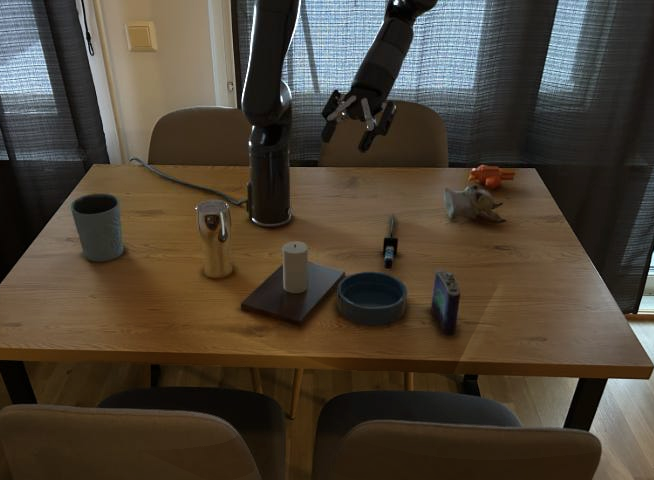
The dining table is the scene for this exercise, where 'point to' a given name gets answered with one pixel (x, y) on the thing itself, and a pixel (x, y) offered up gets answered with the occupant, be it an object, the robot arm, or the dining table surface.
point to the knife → (390, 249)
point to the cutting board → (293, 295)
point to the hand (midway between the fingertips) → (342, 146)
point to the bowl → (371, 298)
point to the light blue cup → (98, 226)
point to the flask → (445, 301)
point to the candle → (295, 267)
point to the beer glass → (215, 237)
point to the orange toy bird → (490, 175)
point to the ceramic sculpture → (472, 204)
